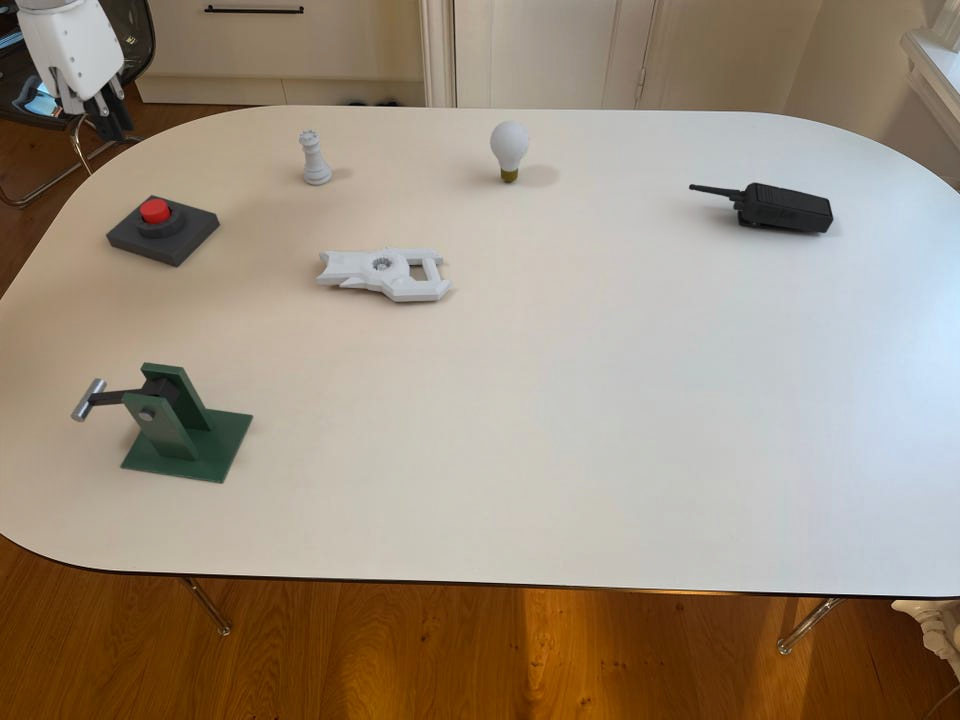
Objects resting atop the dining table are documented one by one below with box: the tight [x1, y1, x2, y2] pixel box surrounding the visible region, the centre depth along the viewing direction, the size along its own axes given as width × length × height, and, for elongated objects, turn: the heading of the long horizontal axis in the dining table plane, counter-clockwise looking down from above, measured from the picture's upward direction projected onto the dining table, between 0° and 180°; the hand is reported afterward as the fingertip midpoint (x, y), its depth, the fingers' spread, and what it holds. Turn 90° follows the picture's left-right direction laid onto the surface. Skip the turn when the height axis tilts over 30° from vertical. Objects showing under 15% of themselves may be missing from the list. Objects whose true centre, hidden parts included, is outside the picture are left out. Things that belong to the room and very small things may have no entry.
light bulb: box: [489, 120, 530, 183], centre depth 107 cm, size 6×6×10 cm
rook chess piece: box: [298, 128, 333, 186], centre depth 109 cm, size 4×4×8 cm
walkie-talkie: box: [688, 182, 835, 234], centre depth 101 cm, size 6×6×20 cm
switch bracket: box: [120, 361, 254, 484], centre depth 76 cm, size 12×9×12 cm
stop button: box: [140, 199, 170, 224], centre depth 101 cm, size 4×4×2 cm
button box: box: [105, 194, 221, 268], centre depth 103 cm, size 12×10×4 cm
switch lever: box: [69, 377, 181, 423], centre depth 75 cm, size 12×5×2 cm, turn 80°
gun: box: [315, 246, 453, 303], centre depth 96 cm, size 18×4×10 cm
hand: (118, 133), depth 91 cm, fingers closed
